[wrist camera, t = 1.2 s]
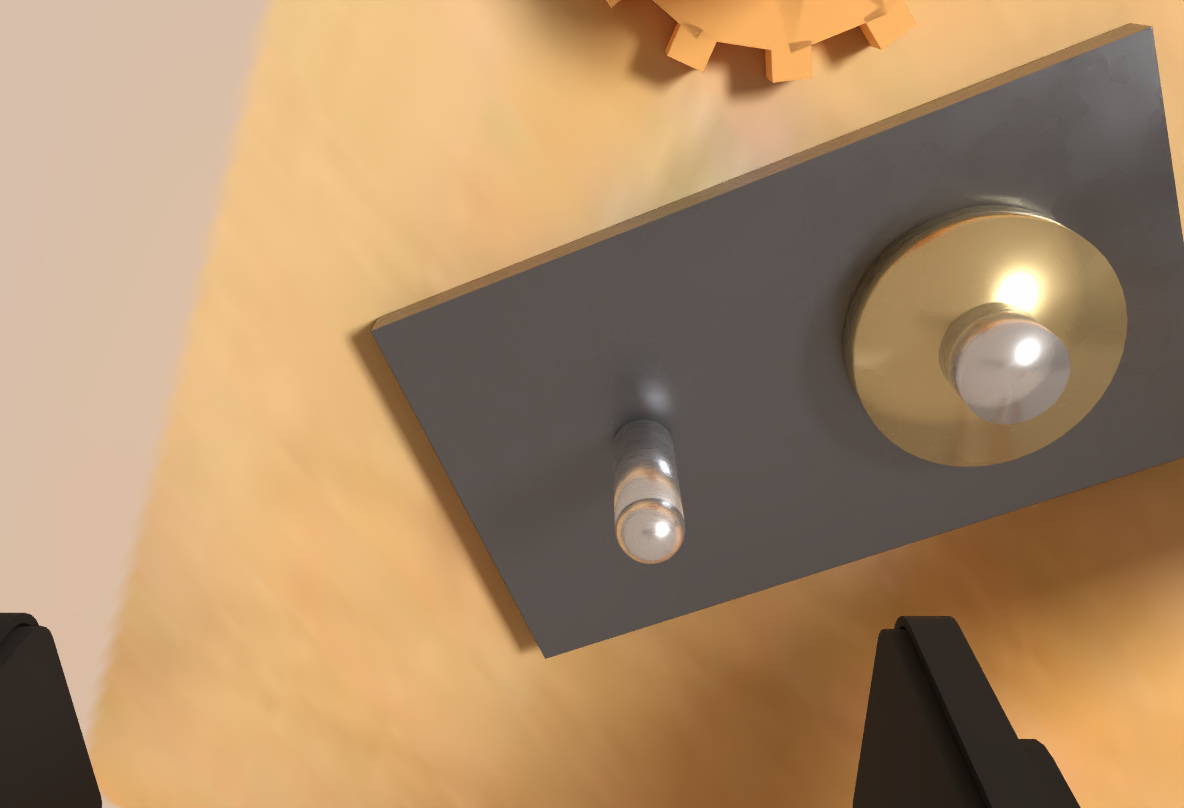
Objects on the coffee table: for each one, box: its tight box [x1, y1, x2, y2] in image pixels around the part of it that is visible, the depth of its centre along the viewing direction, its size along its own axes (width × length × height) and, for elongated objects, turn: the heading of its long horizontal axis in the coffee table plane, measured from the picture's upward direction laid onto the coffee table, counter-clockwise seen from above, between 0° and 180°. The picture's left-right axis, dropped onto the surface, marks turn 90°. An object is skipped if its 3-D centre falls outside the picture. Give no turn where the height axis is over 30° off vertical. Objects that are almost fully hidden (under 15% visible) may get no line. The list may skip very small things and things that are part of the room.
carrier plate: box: [371, 23, 1184, 659], centre depth 29 cm, size 24×14×7 cm, turn 112°
